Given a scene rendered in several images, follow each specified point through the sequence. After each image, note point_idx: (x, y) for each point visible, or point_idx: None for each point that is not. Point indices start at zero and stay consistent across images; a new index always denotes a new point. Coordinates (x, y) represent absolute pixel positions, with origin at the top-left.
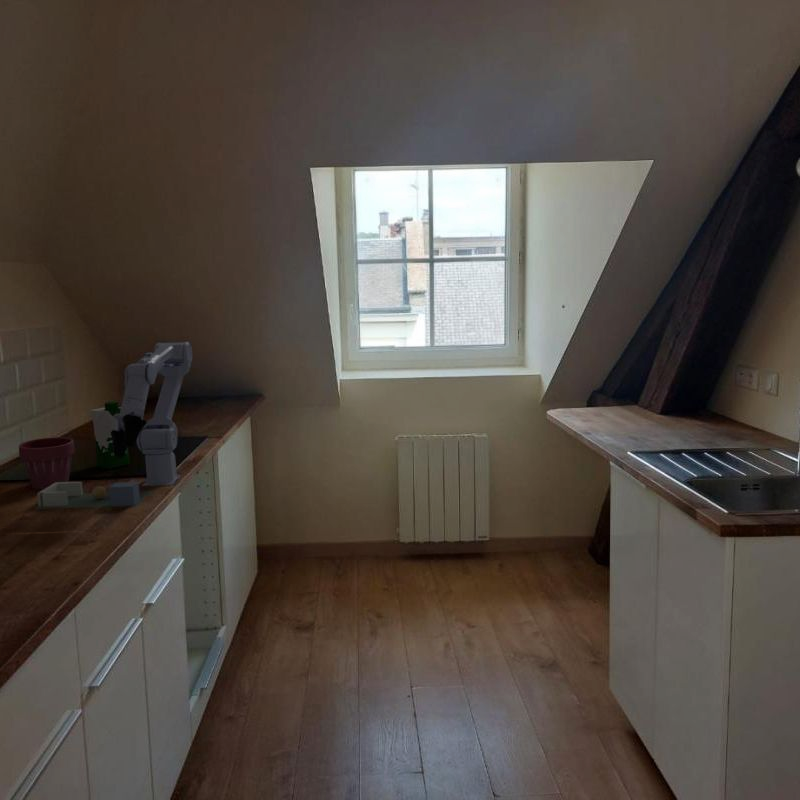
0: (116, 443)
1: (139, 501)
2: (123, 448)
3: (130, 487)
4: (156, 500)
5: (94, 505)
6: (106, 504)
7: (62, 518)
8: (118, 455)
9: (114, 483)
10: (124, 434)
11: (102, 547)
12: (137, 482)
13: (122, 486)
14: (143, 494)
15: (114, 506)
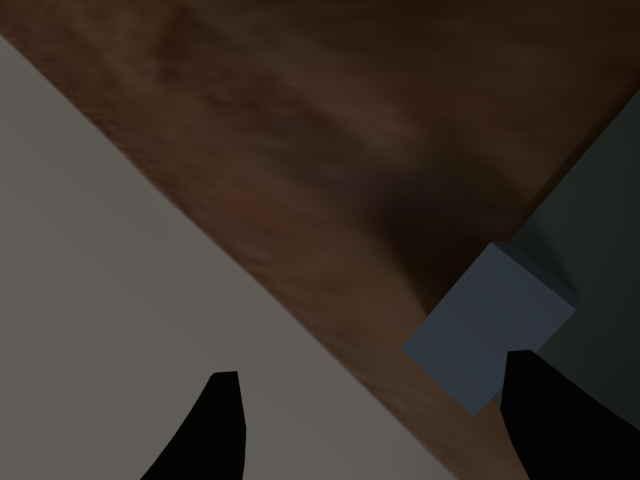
0: (576, 444)
1: None
2: (546, 478)
3: (411, 337)
4: (472, 457)
5: (600, 181)
6: (566, 237)
7: (508, 6)
8: (506, 381)
9: (562, 302)
10: (211, 440)
11: (112, 89)
12: (468, 410)
13: (443, 307)
14: None
15: None
